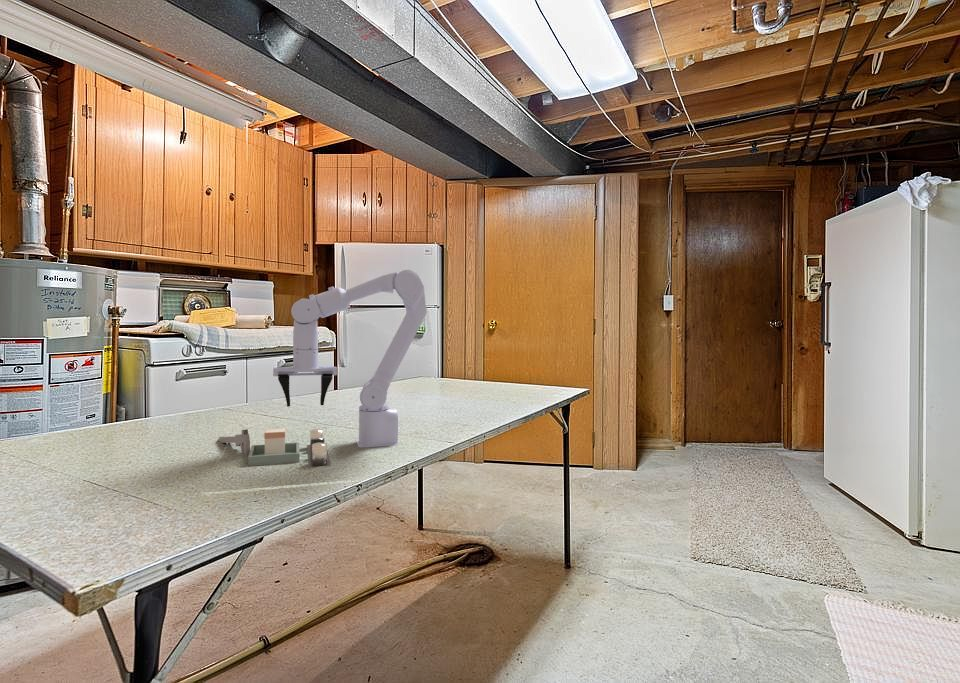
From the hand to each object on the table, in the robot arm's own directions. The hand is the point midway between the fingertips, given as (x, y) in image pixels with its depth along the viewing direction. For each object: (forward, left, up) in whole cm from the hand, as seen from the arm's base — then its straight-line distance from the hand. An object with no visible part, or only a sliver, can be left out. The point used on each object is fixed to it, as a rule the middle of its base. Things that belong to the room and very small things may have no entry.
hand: (305, 405), depth 125 cm
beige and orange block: (+7, +11, -9) cm, 16 cm away
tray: (+7, +11, -10) cm, 16 cm away
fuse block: (-2, +11, -10) cm, 15 cm away
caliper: (+16, -2, -10) cm, 19 cm away
